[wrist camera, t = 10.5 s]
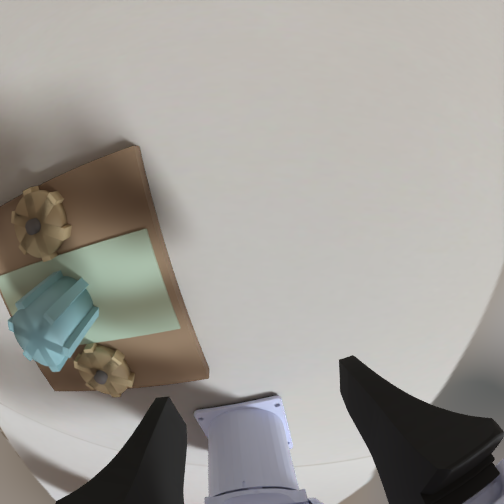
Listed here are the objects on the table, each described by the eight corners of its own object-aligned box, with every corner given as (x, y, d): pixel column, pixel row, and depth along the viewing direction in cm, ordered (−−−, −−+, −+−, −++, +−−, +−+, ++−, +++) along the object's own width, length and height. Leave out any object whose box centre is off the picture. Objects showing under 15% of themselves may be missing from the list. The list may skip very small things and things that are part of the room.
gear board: (209, 368, 21) (208, 392, 18) (59, 383, 21) (48, 401, 18) (139, 146, 16) (124, 144, 13) (-15, 218, 15) (-36, 226, 13)
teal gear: (107, 326, 18) (81, 370, 13) (63, 333, 18) (34, 372, 13) (80, 263, 16) (42, 296, 11) (37, 277, 16) (-2, 308, 11)
